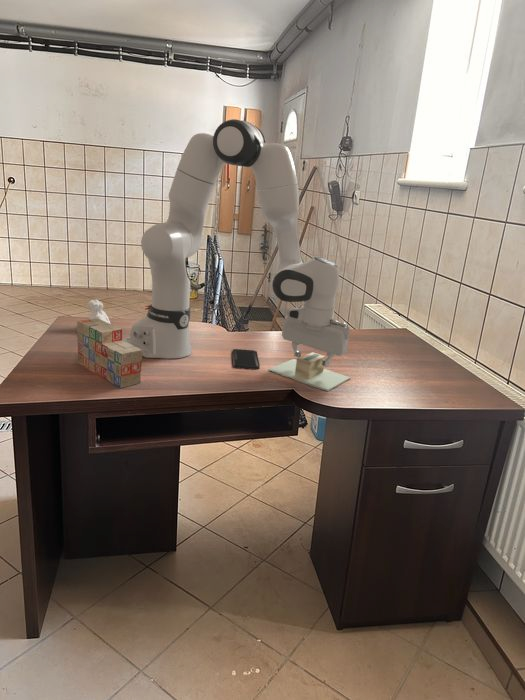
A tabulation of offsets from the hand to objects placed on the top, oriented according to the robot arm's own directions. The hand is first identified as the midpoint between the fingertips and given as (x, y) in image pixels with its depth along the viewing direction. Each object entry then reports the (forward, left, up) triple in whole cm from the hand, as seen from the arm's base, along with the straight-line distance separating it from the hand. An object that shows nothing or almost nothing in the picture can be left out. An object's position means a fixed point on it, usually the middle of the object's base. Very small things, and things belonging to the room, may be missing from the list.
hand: (310, 361), depth 151 cm
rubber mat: (0, 0, -4) cm, 4 cm away
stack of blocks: (-38, -43, -5) cm, 57 cm away
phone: (-20, -5, -5) cm, 21 cm away
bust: (-69, -21, -4) cm, 72 cm away
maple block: (0, 0, -4) cm, 4 cm away
